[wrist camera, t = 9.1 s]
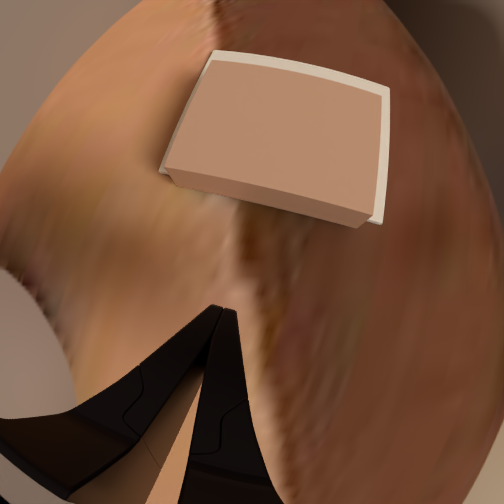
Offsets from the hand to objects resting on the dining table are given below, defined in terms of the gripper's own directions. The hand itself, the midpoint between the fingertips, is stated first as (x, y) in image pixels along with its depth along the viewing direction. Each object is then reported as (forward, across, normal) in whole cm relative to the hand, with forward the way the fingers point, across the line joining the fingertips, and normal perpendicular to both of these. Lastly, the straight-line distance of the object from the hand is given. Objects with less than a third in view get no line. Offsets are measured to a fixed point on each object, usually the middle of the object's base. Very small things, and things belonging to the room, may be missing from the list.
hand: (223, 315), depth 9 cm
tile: (+9, 0, 0) cm, 9 cm away
